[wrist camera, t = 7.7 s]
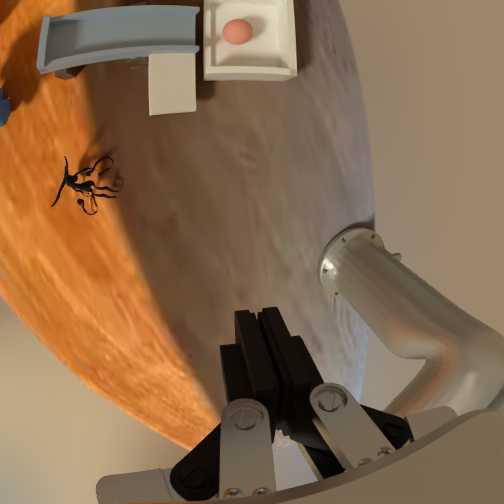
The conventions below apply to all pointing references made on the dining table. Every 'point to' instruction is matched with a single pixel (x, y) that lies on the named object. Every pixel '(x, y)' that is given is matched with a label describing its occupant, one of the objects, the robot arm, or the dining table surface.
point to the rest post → (66, 73)
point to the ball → (237, 31)
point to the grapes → (4, 109)
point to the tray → (250, 41)
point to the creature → (83, 184)
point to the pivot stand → (142, 60)
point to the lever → (129, 47)
